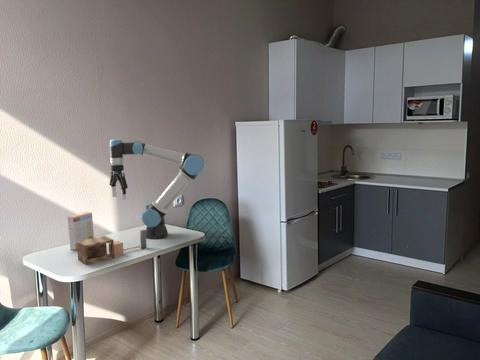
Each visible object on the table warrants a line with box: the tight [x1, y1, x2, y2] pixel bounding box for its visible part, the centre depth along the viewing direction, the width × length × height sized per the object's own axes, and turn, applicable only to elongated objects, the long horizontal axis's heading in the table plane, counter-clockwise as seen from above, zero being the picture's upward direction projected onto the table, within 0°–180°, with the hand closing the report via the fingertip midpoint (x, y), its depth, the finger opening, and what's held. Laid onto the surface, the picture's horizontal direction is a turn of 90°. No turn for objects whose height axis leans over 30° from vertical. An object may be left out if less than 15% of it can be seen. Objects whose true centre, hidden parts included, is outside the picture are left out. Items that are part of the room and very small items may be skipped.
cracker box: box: [67, 211, 95, 252], centre depth 258 cm, size 14×6×21 cm, turn 149°
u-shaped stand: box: [108, 229, 148, 257], centre depth 248 cm, size 22×6×11 cm, turn 131°
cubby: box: [77, 235, 116, 266], centre depth 235 cm, size 16×11×11 cm
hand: (119, 198), depth 264 cm, fingers open, 13 cm apart
